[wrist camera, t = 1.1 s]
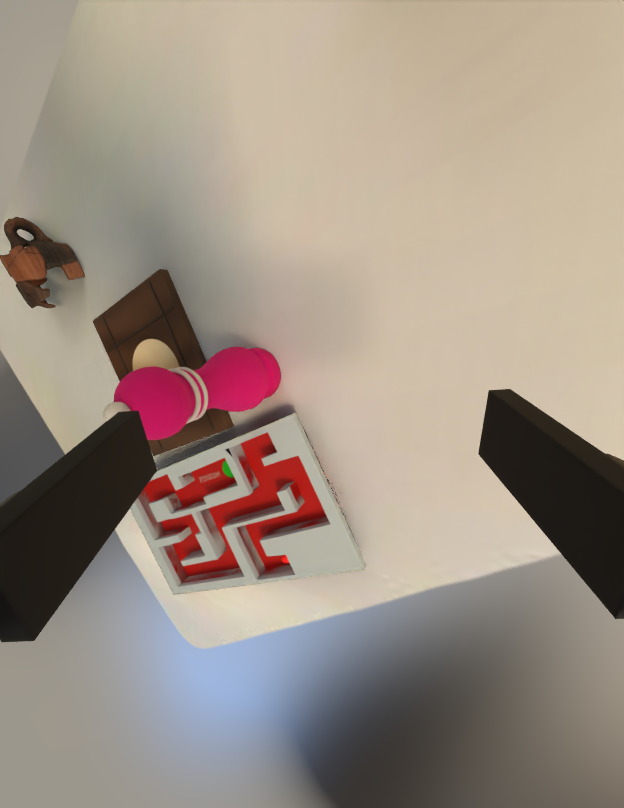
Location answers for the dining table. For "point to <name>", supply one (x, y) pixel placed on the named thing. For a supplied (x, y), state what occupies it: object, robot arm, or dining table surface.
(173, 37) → the dining table surface
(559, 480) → the robot arm
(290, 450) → the maze game
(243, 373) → the pepper mill
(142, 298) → the board
